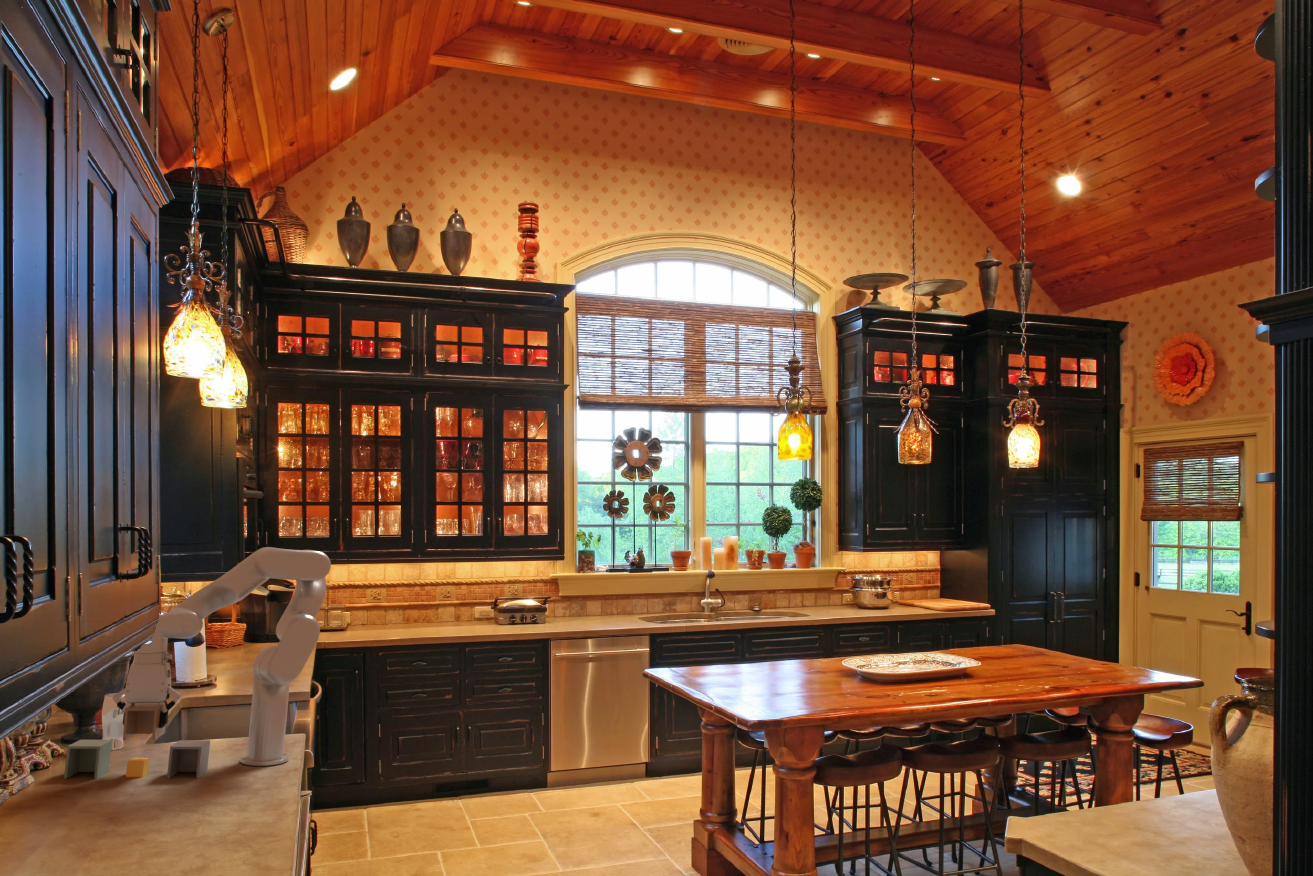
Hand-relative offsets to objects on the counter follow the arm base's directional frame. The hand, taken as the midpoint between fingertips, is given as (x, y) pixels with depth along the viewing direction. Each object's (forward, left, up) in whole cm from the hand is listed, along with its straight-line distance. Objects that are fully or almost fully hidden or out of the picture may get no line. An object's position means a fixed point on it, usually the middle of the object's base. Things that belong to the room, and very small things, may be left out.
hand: (145, 726), depth 239 cm
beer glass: (-30, -18, -12) cm, 37 cm away
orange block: (0, -1, -12) cm, 12 cm away
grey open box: (0, +12, -12) cm, 17 cm away
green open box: (0, -13, -12) cm, 17 cm away
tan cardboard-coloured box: (0, 0, -2) cm, 2 cm away
